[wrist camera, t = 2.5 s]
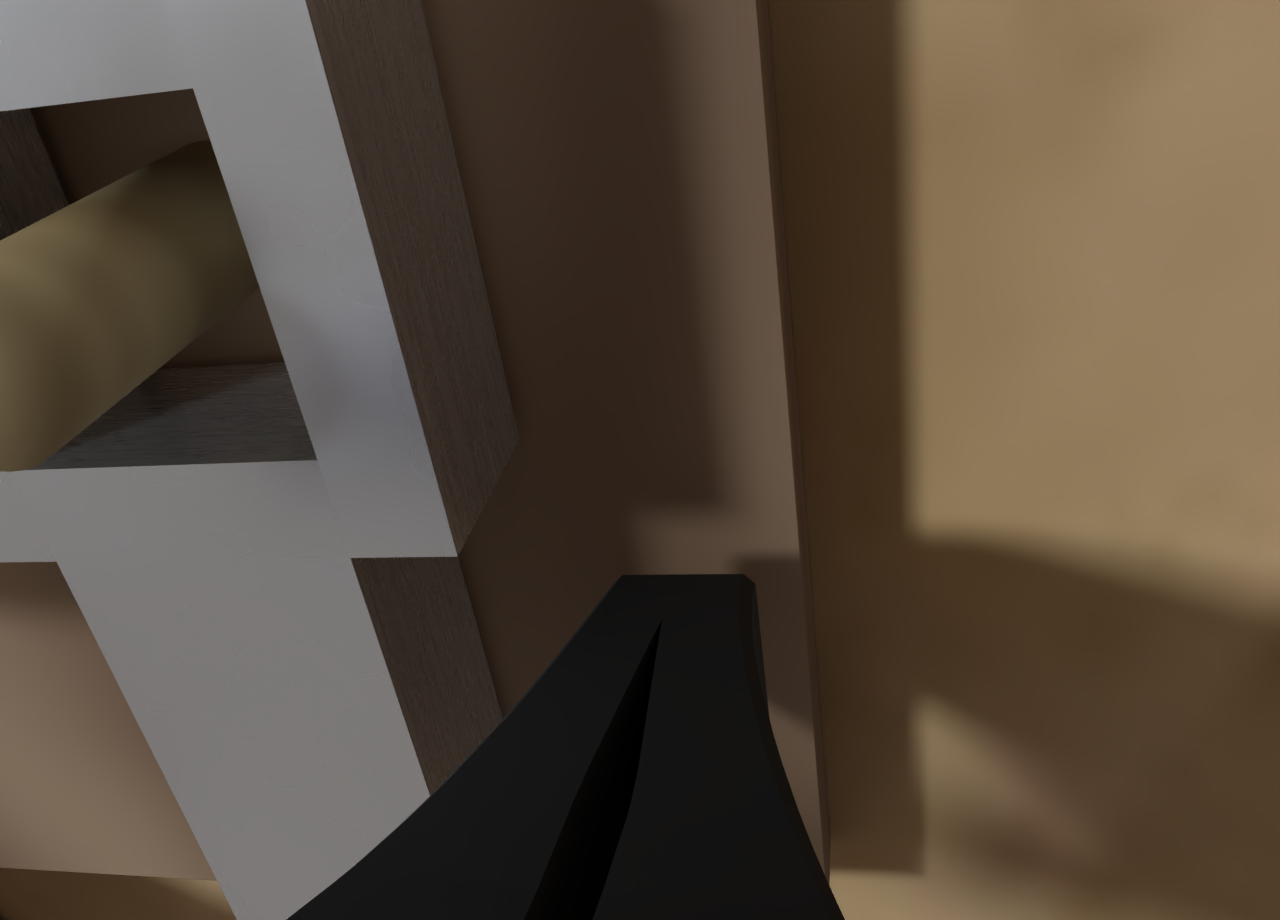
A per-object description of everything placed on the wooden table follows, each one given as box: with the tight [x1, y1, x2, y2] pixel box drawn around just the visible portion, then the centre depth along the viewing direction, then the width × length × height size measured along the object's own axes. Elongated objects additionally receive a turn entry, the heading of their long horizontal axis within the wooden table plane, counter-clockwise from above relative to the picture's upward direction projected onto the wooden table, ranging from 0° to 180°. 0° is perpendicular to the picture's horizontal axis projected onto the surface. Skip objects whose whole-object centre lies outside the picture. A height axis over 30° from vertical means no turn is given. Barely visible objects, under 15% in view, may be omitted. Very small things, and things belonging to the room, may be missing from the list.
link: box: [0, 0, 519, 920], centre depth 11 cm, size 12×5×2 cm, turn 8°
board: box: [0, 0, 830, 884], centre depth 11 cm, size 14×16×5 cm
